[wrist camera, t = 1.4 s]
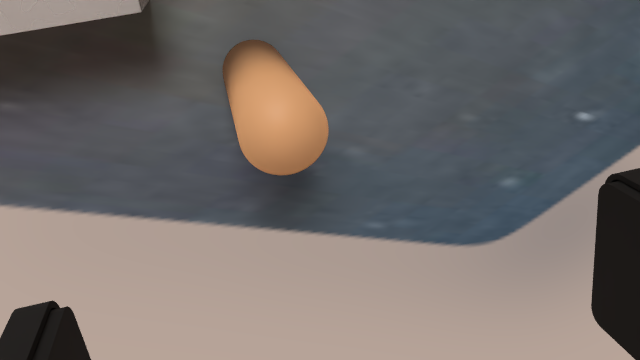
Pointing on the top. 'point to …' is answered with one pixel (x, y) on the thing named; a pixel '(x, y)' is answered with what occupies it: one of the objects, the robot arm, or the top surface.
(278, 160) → the peg
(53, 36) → the top surface
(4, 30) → the hole block
